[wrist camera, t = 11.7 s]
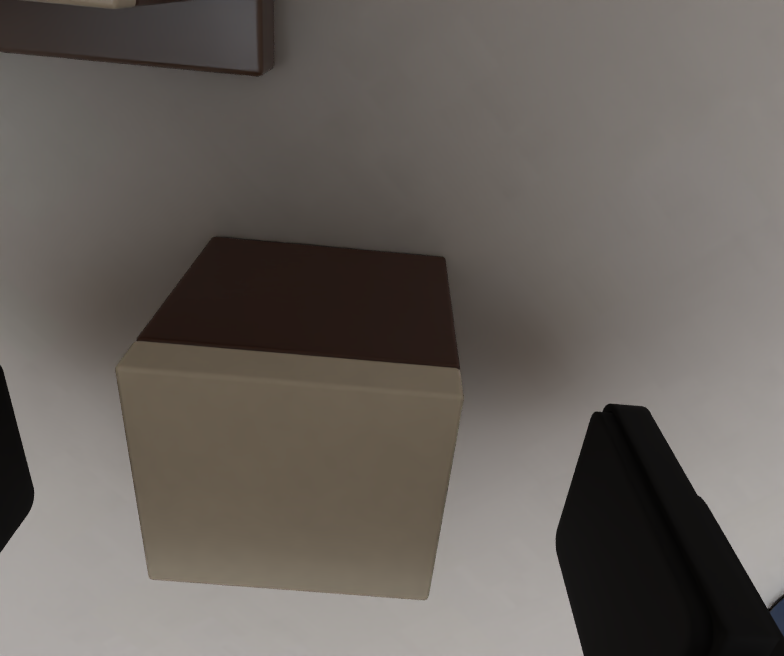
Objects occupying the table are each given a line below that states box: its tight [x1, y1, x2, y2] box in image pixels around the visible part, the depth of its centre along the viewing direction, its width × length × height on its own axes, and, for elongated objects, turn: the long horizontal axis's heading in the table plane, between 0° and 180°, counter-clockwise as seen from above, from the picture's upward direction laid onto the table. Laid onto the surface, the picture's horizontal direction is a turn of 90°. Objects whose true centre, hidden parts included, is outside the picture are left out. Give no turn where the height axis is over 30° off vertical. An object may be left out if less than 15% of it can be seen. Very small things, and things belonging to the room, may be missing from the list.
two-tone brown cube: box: [115, 237, 464, 600], centre depth 11 cm, size 4×4×4 cm
